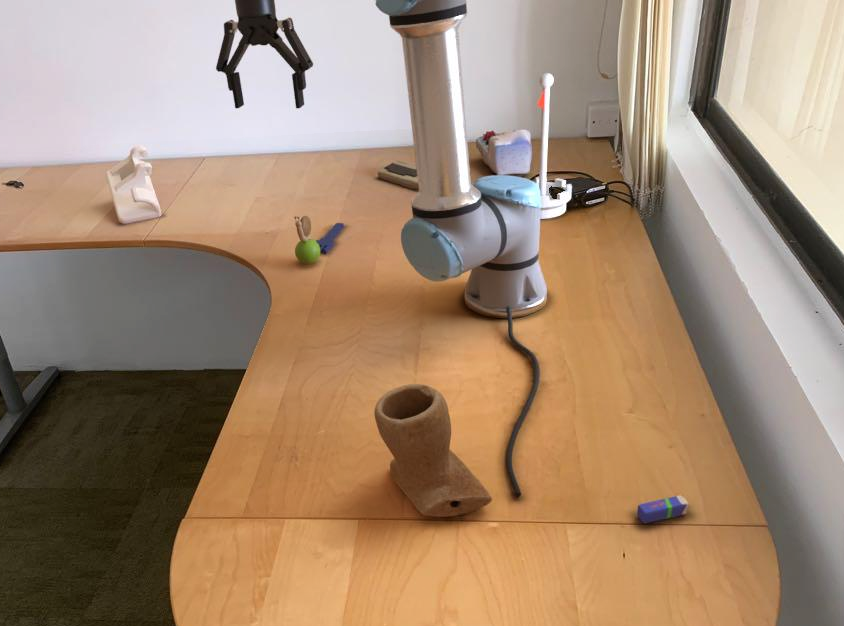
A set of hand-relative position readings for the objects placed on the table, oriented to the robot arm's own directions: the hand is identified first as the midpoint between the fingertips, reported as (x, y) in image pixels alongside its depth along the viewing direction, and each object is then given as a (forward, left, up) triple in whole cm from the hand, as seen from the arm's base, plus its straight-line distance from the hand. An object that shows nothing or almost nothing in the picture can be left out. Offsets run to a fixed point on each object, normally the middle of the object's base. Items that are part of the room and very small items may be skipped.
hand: (269, 106), depth 172 cm
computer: (+43, -16, -31) cm, 55 cm away
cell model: (+55, -39, -31) cm, 74 cm away
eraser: (-73, -82, -31) cm, 114 cm away
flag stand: (+27, -52, -31) cm, 66 cm away
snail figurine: (-8, -8, -31) cm, 33 cm away
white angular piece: (+16, +49, -31) cm, 60 cm away
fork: (+4, -8, -31) cm, 32 cm away
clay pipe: (-75, -52, -31) cm, 96 cm away
